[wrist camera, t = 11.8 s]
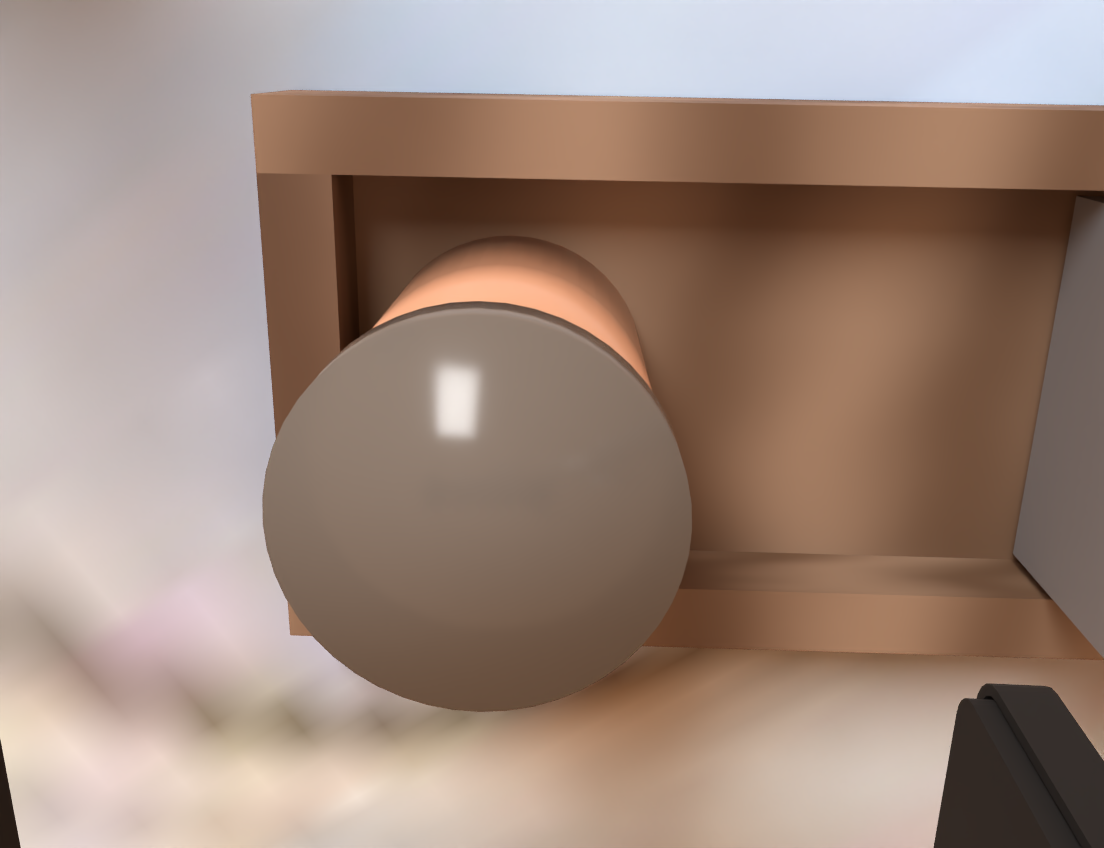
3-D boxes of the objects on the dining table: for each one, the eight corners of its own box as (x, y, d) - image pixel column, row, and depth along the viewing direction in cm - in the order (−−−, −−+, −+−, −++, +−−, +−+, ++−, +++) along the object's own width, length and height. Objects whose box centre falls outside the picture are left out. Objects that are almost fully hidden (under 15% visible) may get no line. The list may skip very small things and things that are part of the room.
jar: (655, 227, 23) (703, 318, 15) (645, 497, 25) (682, 715, 17) (365, 224, 23) (244, 313, 15) (378, 493, 25) (279, 708, 17)
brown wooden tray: (1204, 107, 23) (1291, 114, 20) (1100, 598, 27) (1161, 661, 24) (290, 89, 23) (250, 94, 21) (320, 575, 27) (290, 635, 24)
